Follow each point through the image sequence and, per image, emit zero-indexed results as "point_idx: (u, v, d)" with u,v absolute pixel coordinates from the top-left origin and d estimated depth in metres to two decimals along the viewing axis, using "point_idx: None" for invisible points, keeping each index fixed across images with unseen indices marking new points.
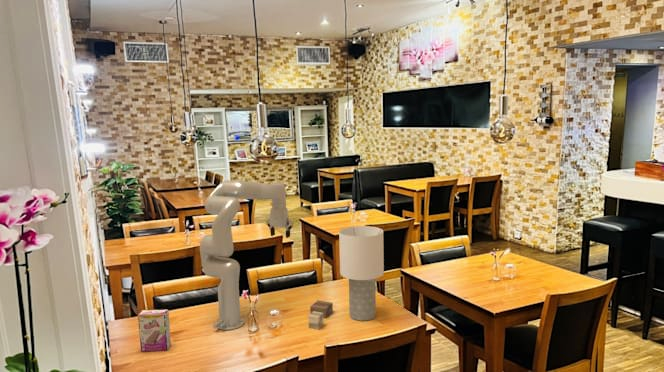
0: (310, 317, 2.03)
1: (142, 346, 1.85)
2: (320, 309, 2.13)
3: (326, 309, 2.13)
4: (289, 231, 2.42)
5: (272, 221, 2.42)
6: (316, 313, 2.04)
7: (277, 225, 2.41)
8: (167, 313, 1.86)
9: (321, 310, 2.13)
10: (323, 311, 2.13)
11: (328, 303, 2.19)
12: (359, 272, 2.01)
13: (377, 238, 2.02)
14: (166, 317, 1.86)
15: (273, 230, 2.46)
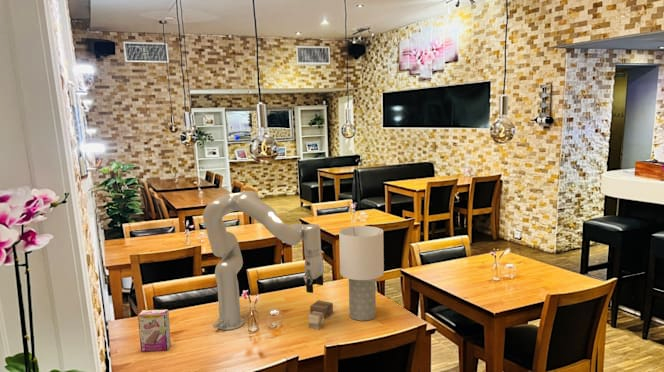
0: (310, 317, 2.03)
1: (142, 346, 1.85)
2: (320, 309, 2.13)
3: (325, 309, 2.13)
4: None
5: (316, 272, 1.98)
6: (316, 313, 2.04)
7: (320, 274, 2.01)
8: (167, 313, 1.86)
9: (321, 310, 2.13)
10: (323, 311, 2.13)
11: (328, 303, 2.19)
12: (359, 272, 2.01)
13: (377, 238, 2.02)
14: (166, 317, 1.86)
15: None
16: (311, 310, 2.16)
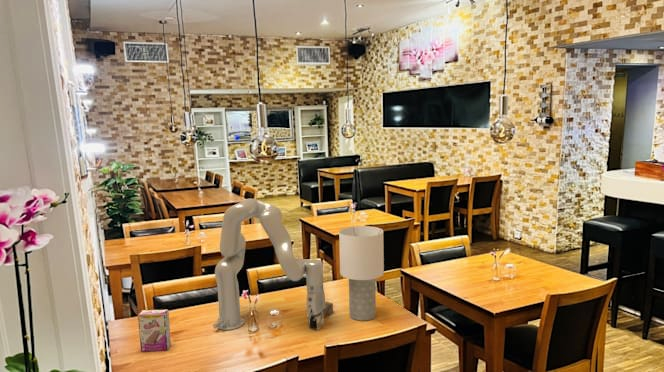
0: None
1: (142, 346, 1.85)
2: None
3: (325, 309, 2.13)
4: None
5: (318, 308, 2.00)
6: None
7: (321, 309, 2.03)
8: (167, 313, 1.86)
9: None
10: None
11: (328, 303, 2.18)
12: (359, 272, 2.01)
13: (377, 238, 2.02)
14: (166, 317, 1.86)
15: None
16: None
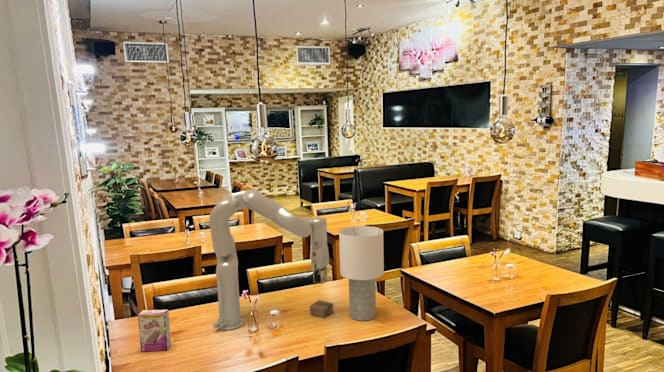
0: None
1: (142, 346, 1.85)
2: (319, 309, 2.13)
3: (324, 309, 2.13)
4: None
5: (322, 263, 2.09)
6: (321, 269, 2.14)
7: (325, 265, 2.12)
8: (167, 313, 1.86)
9: (320, 310, 2.13)
10: (322, 311, 2.13)
11: (328, 303, 2.18)
12: (359, 272, 2.01)
13: (377, 238, 2.02)
14: (166, 317, 1.86)
15: None
16: (311, 310, 2.16)
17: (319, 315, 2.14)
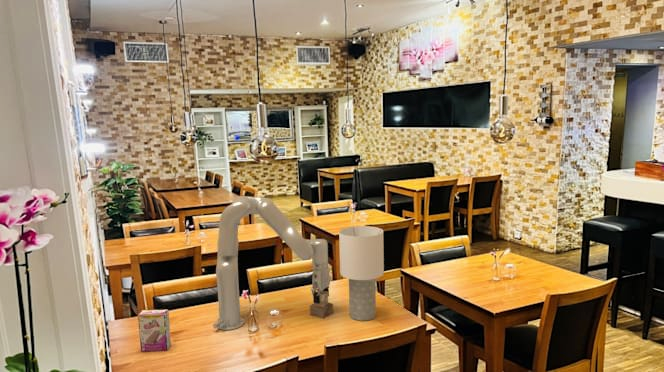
0: None
1: (142, 346, 1.85)
2: (318, 309, 2.13)
3: (324, 309, 2.13)
4: None
5: (323, 284, 2.12)
6: (321, 292, 2.17)
7: (326, 286, 2.15)
8: (167, 313, 1.86)
9: (319, 310, 2.13)
10: (321, 311, 2.13)
11: (328, 303, 2.18)
12: (359, 272, 2.01)
13: (377, 238, 2.02)
14: (166, 317, 1.86)
15: None
16: (311, 310, 2.17)
17: (319, 315, 2.14)
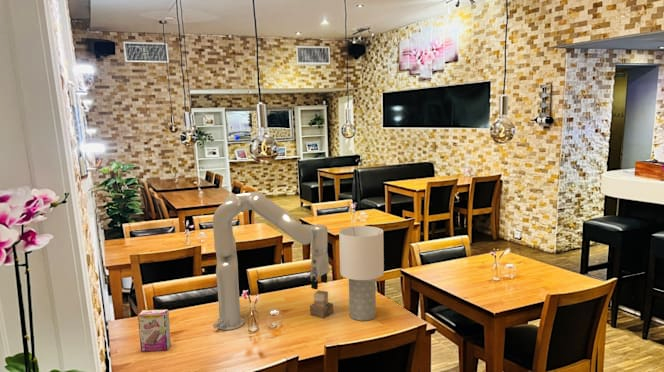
0: (315, 295, 2.15)
1: (142, 346, 1.85)
2: (319, 309, 2.13)
3: (324, 309, 2.13)
4: None
5: (321, 270, 2.11)
6: (321, 292, 2.17)
7: (324, 272, 2.14)
8: (167, 313, 1.86)
9: (319, 310, 2.13)
10: (321, 311, 2.13)
11: (328, 303, 2.18)
12: (359, 272, 2.01)
13: (377, 238, 2.02)
14: (166, 317, 1.86)
15: None
16: (311, 309, 2.17)
17: (319, 315, 2.14)
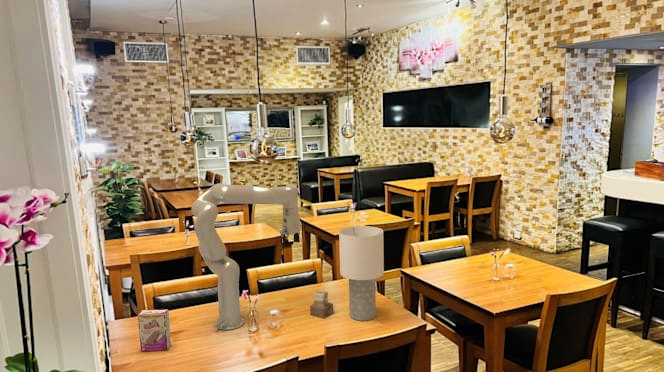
0: (315, 295, 2.15)
1: (142, 346, 1.85)
2: (319, 309, 2.13)
3: (324, 309, 2.13)
4: None
5: (292, 229, 2.20)
6: (321, 292, 2.17)
7: (295, 231, 2.23)
8: (167, 313, 1.86)
9: (319, 310, 2.13)
10: (321, 311, 2.13)
11: (329, 303, 2.18)
12: (359, 272, 2.01)
13: (377, 238, 2.02)
14: (166, 317, 1.86)
15: None
16: (311, 309, 2.17)
17: (319, 315, 2.14)
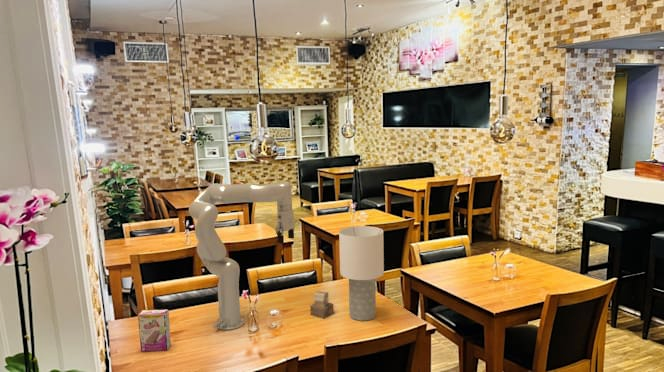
0: (316, 295, 2.15)
1: (142, 346, 1.85)
2: (319, 309, 2.13)
3: (324, 309, 2.13)
4: None
5: (287, 225, 2.23)
6: (322, 292, 2.17)
7: (290, 227, 2.26)
8: (167, 313, 1.86)
9: (320, 310, 2.13)
10: (321, 311, 2.13)
11: (329, 303, 2.18)
12: (359, 272, 2.01)
13: (377, 238, 2.02)
14: (166, 317, 1.86)
15: None
16: (311, 310, 2.17)
17: (319, 315, 2.14)
